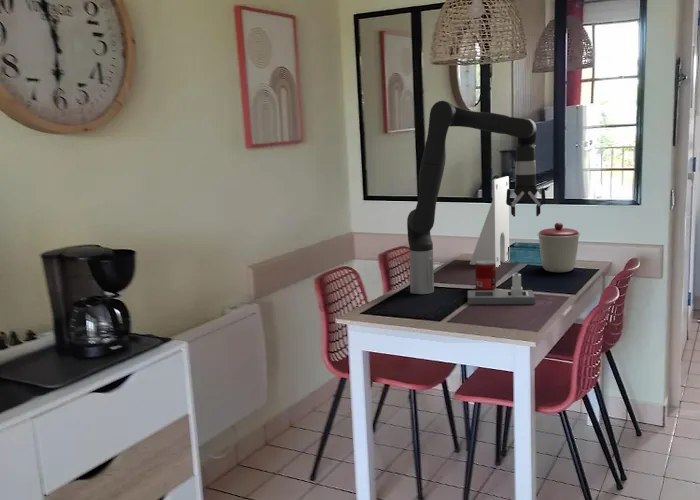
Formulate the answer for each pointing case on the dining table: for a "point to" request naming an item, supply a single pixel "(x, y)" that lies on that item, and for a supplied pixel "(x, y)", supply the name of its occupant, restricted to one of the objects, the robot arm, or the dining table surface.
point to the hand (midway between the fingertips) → (525, 216)
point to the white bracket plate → (495, 227)
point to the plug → (516, 285)
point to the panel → (499, 297)
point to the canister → (558, 248)
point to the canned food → (485, 274)
